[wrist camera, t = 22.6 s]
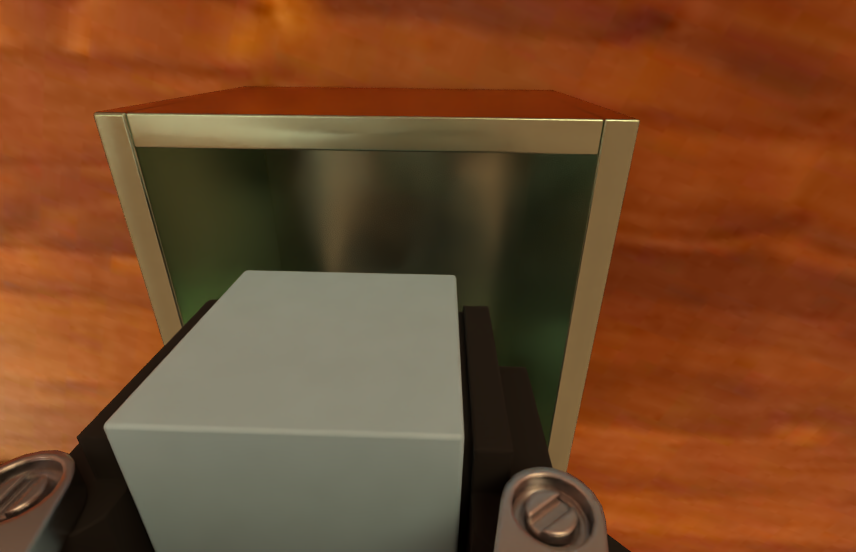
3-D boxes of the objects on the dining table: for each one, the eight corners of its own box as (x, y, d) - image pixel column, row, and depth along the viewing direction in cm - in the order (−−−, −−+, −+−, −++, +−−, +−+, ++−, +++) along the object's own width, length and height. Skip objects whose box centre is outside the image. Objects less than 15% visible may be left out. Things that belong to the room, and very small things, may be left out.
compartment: (243, 86, 18) (90, 111, 10) (554, 90, 18) (641, 119, 10) (291, 387, 25) (222, 538, 17) (516, 393, 25) (550, 551, 17)
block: (244, 268, 9) (98, 426, 5) (456, 273, 9) (465, 437, 5) (275, 426, 11) (184, 626, 7) (449, 432, 11) (452, 638, 7)
